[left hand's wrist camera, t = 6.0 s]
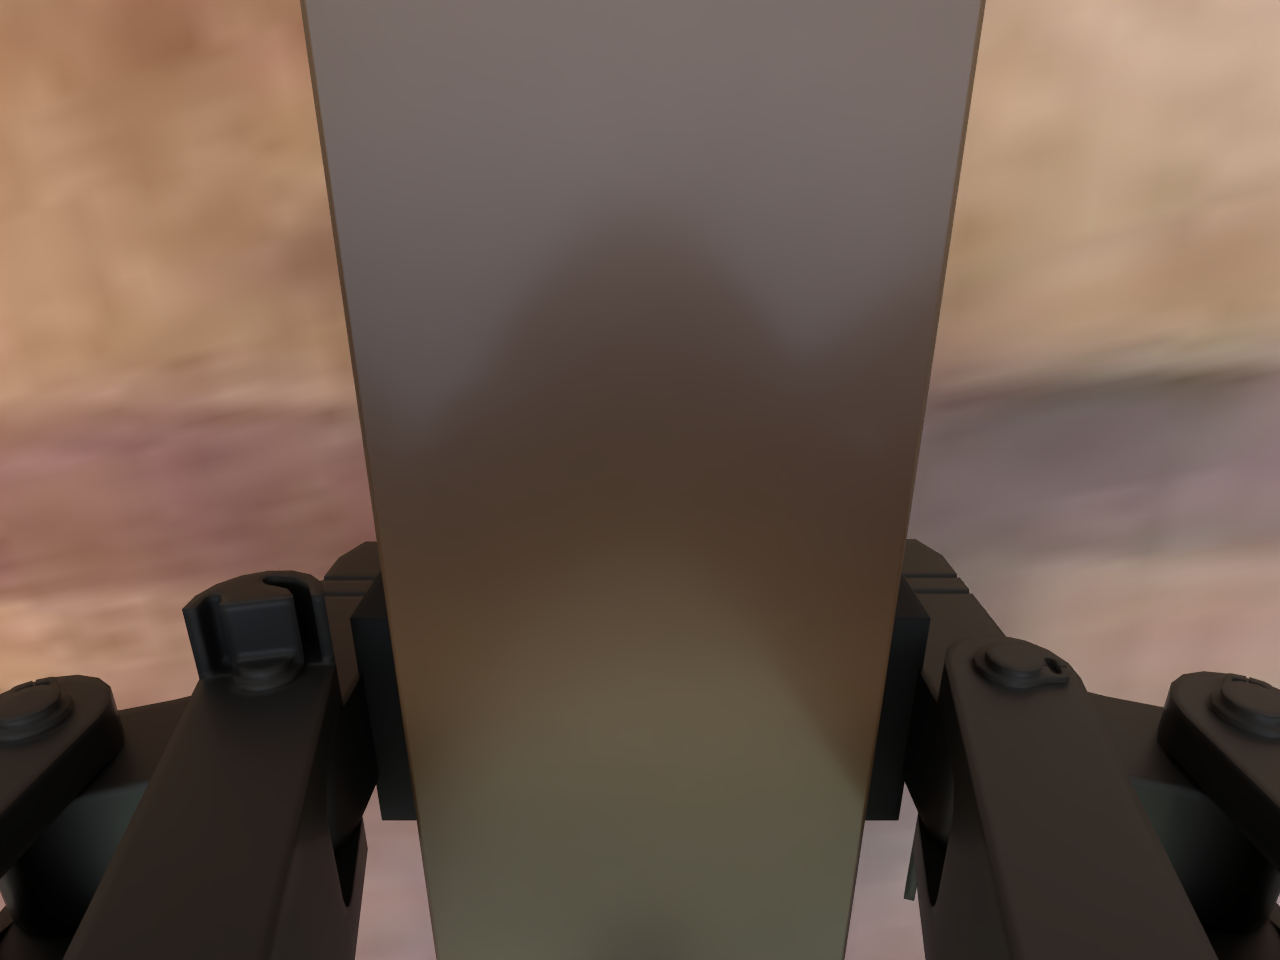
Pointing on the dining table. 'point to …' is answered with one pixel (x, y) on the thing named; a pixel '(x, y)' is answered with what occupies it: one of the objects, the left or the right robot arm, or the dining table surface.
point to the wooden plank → (641, 439)
